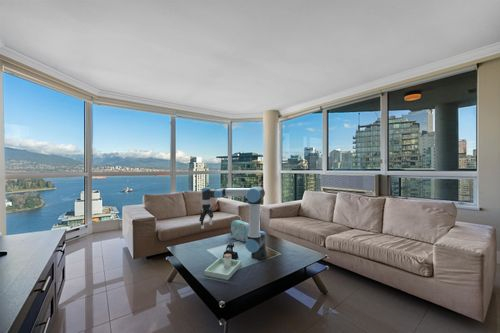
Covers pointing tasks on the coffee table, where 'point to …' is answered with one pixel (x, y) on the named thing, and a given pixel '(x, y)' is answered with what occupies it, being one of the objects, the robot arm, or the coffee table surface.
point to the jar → (227, 260)
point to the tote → (222, 269)
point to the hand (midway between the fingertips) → (206, 226)
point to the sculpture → (231, 252)
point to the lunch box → (239, 230)
